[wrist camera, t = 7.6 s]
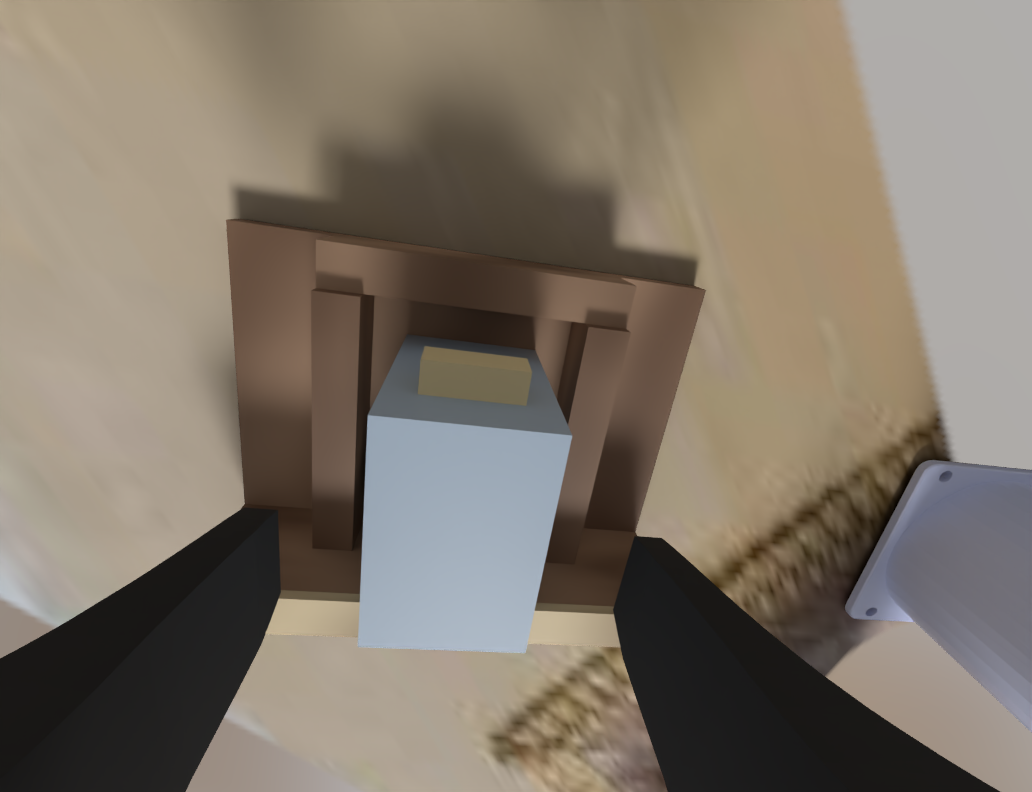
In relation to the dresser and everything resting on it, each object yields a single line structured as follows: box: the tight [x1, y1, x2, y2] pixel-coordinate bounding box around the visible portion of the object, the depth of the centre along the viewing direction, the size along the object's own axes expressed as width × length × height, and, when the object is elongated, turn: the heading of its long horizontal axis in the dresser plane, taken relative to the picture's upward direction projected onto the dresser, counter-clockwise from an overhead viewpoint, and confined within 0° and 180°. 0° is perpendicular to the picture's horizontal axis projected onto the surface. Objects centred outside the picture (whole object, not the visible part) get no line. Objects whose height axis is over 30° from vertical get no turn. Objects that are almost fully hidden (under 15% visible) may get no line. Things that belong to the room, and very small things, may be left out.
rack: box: [226, 219, 706, 647], centre depth 14 cm, size 14×10×5 cm
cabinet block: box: [358, 334, 572, 653], centre depth 13 cm, size 4×7×6 cm, turn 171°
